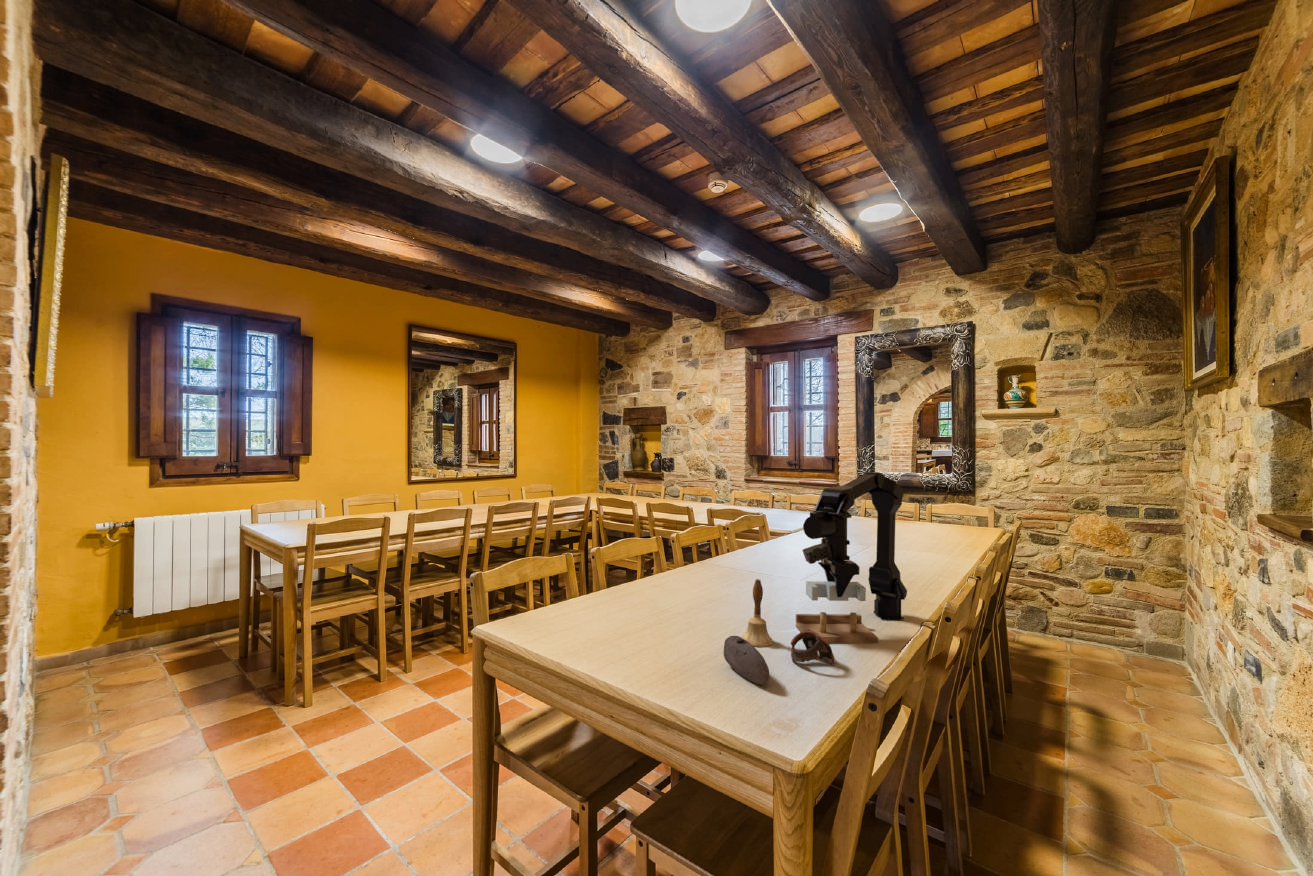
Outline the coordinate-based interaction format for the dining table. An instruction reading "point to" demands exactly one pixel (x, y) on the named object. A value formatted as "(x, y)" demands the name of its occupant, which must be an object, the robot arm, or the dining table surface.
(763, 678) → the perforated stone tool
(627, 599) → the dining table surface
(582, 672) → the dining table surface
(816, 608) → the dining table surface
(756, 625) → the hand bell
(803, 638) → the brown curved piece
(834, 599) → the grey notched panel
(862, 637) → the board
